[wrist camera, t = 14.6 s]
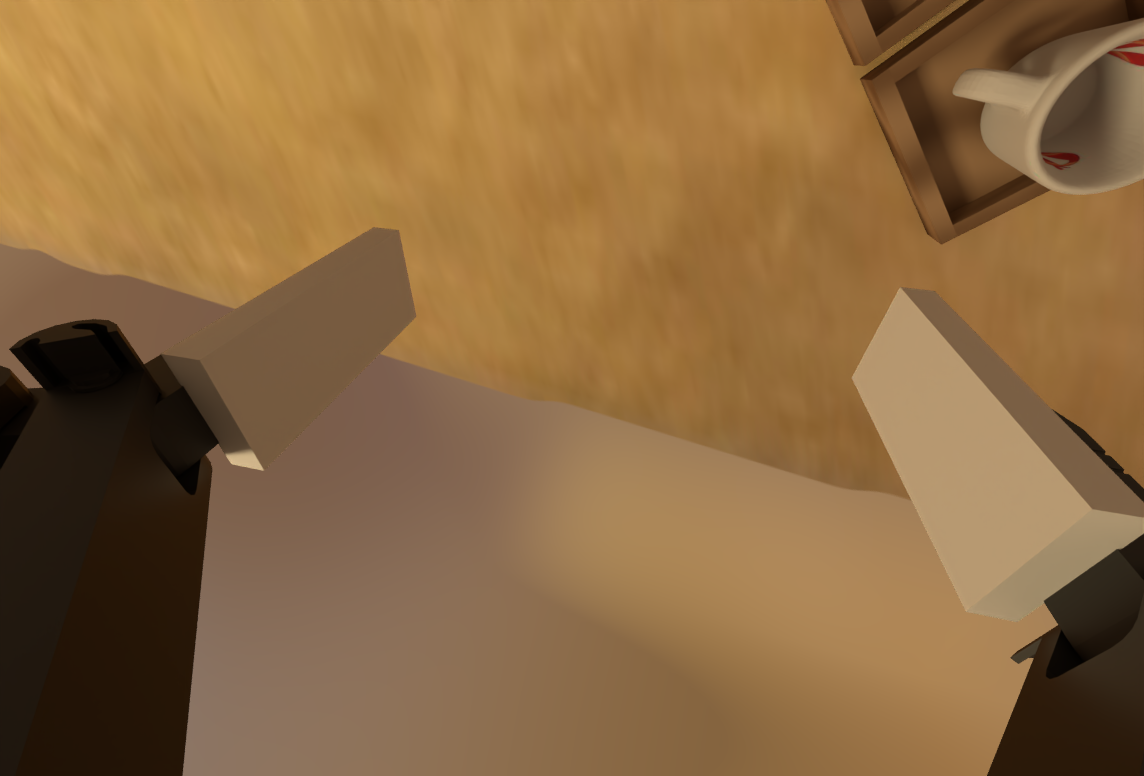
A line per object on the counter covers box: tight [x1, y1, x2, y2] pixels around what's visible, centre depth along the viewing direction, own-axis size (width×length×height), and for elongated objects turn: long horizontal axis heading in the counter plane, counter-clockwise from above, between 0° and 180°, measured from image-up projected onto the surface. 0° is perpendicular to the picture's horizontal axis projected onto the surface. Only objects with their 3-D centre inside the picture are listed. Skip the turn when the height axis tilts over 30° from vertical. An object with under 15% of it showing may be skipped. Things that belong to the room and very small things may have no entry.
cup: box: [953, 18, 1144, 195], centre depth 26 cm, size 11×8×8 cm
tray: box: [860, 0, 1144, 244], centre depth 28 cm, size 13×13×2 cm
